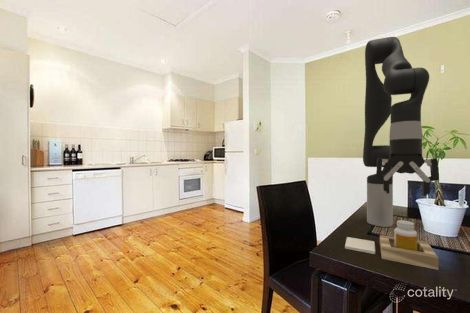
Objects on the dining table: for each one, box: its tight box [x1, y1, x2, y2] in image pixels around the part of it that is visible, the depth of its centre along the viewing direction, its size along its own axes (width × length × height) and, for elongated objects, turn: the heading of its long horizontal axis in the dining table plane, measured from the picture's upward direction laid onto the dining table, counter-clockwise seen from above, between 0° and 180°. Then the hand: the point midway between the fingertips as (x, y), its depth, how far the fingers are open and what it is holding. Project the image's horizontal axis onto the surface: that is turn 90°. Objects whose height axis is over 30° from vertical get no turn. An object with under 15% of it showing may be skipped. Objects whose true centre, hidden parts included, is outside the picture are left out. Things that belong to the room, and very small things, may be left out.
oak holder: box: [379, 234, 439, 271], centre depth 65 cm, size 12×12×3 cm
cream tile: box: [344, 236, 376, 255], centre depth 71 cm, size 9×8×1 cm
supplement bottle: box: [393, 219, 418, 251], centre depth 65 cm, size 5×5×10 cm
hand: (405, 194), depth 65 cm, fingers open, 8 cm apart
